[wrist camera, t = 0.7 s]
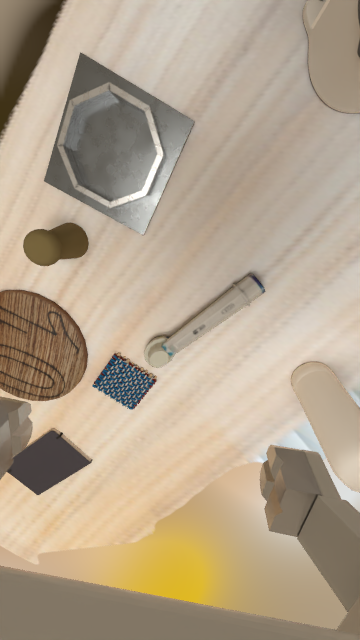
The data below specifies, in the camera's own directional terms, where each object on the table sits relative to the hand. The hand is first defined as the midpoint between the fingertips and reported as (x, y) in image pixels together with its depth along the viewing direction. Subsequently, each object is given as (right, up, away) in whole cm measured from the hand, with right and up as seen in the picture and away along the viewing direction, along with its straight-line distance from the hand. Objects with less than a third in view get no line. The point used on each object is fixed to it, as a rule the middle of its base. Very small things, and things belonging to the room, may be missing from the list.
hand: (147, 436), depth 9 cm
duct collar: (-9, +30, +34) cm, 46 cm away
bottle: (+27, -8, +46) cm, 54 cm away
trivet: (-30, -2, +49) cm, 58 cm away
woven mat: (-10, -9, +50) cm, 52 cm away
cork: (-18, +18, +40) cm, 47 cm away
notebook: (-33, -32, +62) cm, 77 cm away
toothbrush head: (+5, +4, +43) cm, 44 cm away
